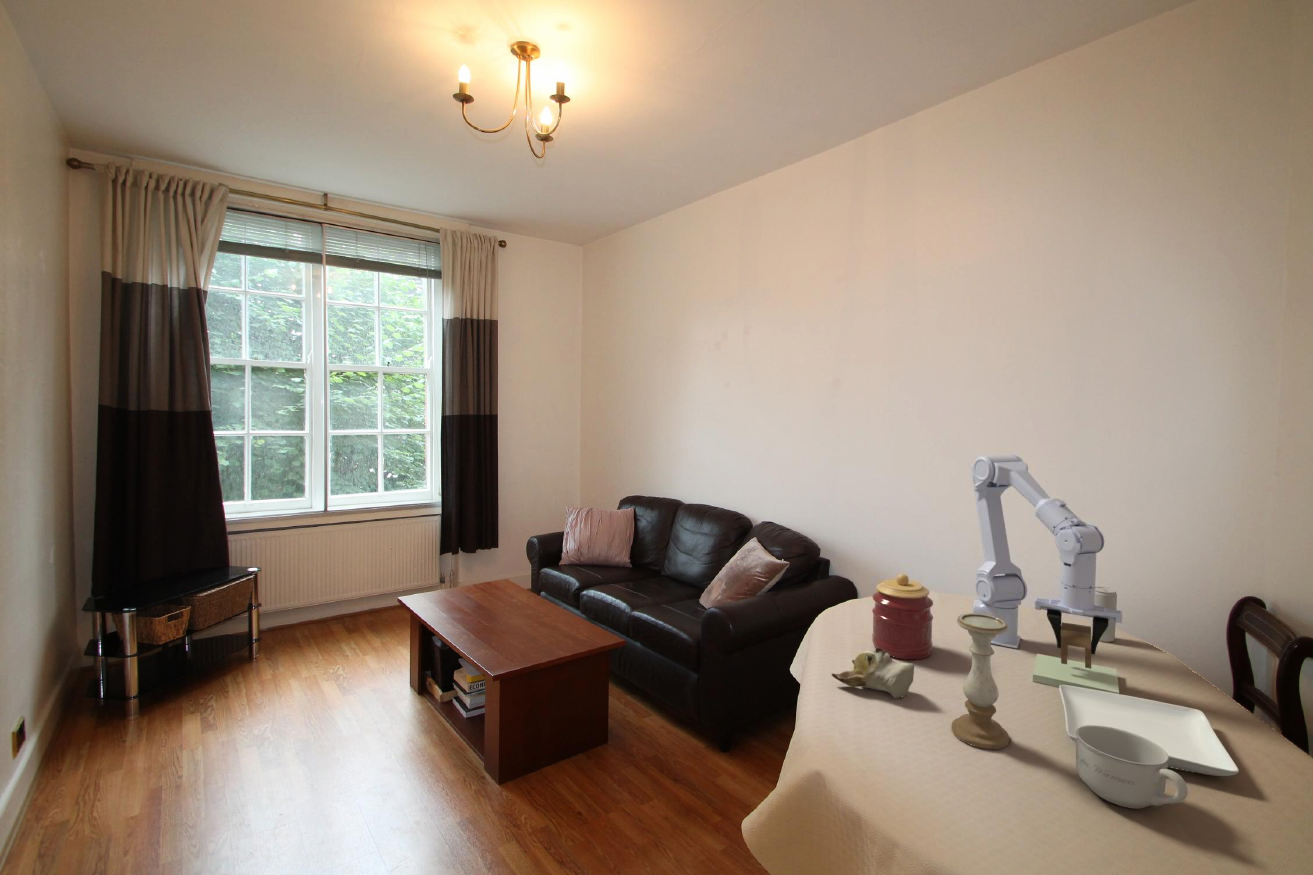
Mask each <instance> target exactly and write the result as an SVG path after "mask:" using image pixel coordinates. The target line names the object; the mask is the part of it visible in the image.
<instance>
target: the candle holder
mask: <svg viewBox="0 0 1313 875" xmlns="http://www.w3.org/2000/svg"><path fill="white" fill-rule="evenodd" d="M956 622H957V624H958V626H959V627H961V628H962V629H964V630H966V631H967V633H968V634H969V636H971V640H972V639H973V640H972V643H971V644H970V646H969V647H968V650H969V651H970V652H971V656H972V658H971V667H970V671H969V673H968V675H966V677H965V680H964V682H963V685H962V691H963V694H964V696H965V697H966V699H967V700H966V701H965V702H964V707H965V708H966V709H967V712H968V713H966V714H962V715H960V716H959V717H958V718H955V719H953V720H952V722H951V725H950V728H951V732H952V731H953V732H952V734H953V733H954V734H955V735H954V734H953V735H954V736H955V737H956V738H957V737H958V738H960V739H961V740H963V741H965V742H966V743H965V742H964V743H965V744H967V743H969V744H972V745H975V746H977V747H976V748H979V747H981V748H980V749H984V748H986V749H985V750H999V749H1003V748H1006V747H1007V746H1008V745H1009V742H1010V736H1009V733H1008V731H1007V730H1006V729H1005V728H1003V727H1002V725H1001V724H1000V722H998V721H996V720H995V719H994V718H993V716H994V714H996V713H997V708H996V706H995V705H994V704H995V703H996V702H997V701H998V699H999V697H1000V696H999V689H998V686H997V683H996V681H995V679H994V677H993V674H992V670H991V669H992V668H991V667H992V666H991V657H992V656H993V655H994V654H995V650H994V649H993V648H992V644H991V641H992V640H993V639H994V638H995V637H996V634H1002V633H1005V632H1007V630H1008V626H1007V624H1006V622H1005V621H1003V620H1001V619H999V618H997V617H994V616H990V615H985V614H977V613H973V612H971V613H968V612H967V613H962V614H960V615H959V616H958V617H957V619H956ZM958 738H957V739H958ZM960 739H959V740H960ZM961 740H960V741H961ZM963 741H962V742H963ZM969 744H968V745H969ZM972 745H971V746H972ZM975 746H974V747H975Z"/></svg>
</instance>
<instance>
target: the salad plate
mask: <svg viewBox="0 0 1313 875" xmlns="http://www.w3.org/2000/svg"><path fill="white" fill-rule="evenodd" d="M1058 690H1059V694H1060V697H1061V701H1062V706H1063V710H1064V718H1065V730H1066V733H1067V735H1068V736H1069V739H1071V740H1072V741H1073V742H1074V743H1076V742H1077V736H1076V731H1077V729H1078V728H1080V727H1083V726H1086V725H1092V726H1093V725H1096V726H1107V727H1112V728H1117V729H1121V730H1124V731H1128V732H1131V733H1133V734H1136V735H1139V736H1141V737H1144V738H1146V739H1148V740H1150V741H1152V742H1153V743H1155V744H1157V745H1158V746H1160V747H1161V748H1162V749H1163V750H1164V751H1165V752H1166V753H1167V754H1168V756H1169V762H1168V763H1167V766H1168V767H1167V768H1170V767H1173V768H1172V769H1174V768H1178V769H1177V770H1179V769H1184V770H1188V771H1193V772H1192V773H1195V772H1197V773H1196V774H1202V775H1209V776H1216V777H1229V776H1234V775H1237V774H1239V772H1240V771H1239V768H1238V766H1237V764H1236V762H1234V760H1233V759H1232V757H1231V756H1230V753H1229V752H1228V751H1227V750H1226V748H1225V746H1224V744H1223V743H1222V742H1221V740H1220V739H1219V737H1218V735H1217V734H1216V733H1215V730H1214V729H1213V727H1212V725H1211V723H1210V721H1209V720H1208V718H1207V716H1206V715H1205V714H1204V712H1203V711H1202V710H1200V709H1197V708H1191V707H1186V706H1183V705H1178V704H1174V703H1173V704H1172V703H1167V702H1162V701H1158V700H1152V699H1147V698H1142V697H1137V696H1132V695H1126V694H1121V693H1119V694H1115V693H1110V692H1104V691H1098V690H1092V689H1087V688H1081V687H1075V686H1069V685H1060V686H1059V687H1058ZM1188 771H1187V772H1188Z"/></svg>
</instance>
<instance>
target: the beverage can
mask: <svg viewBox="0 0 1313 875" xmlns="http://www.w3.org/2000/svg"><path fill="white" fill-rule="evenodd" d="M1117 599H1118V594H1117V590H1116V589H1113V588H1110V587H1105V586H1095V605H1096V606H1100V607H1105V608H1109V609H1113V610H1117V602H1118V601H1117ZM1116 624H1117V622H1115V621H1111V620H1108V627H1107V629H1106V630H1105V632H1104V633H1103V635H1102V636H1101V638H1100V640H1099V642H1103V643H1112V642H1114V641H1115V639H1116ZM1090 626H1091V637H1092V632H1093V618H1092V617H1090Z"/></svg>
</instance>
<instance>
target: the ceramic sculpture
mask: <svg viewBox="0 0 1313 875" xmlns="http://www.w3.org/2000/svg"><path fill="white" fill-rule="evenodd" d="M851 662H852V664H853V670H847V671H846V670H845V671H843V672H840V673H831V677H833V678H834V679H836V680H837V681H839V682H841V683H842V684H845V685H847V686H848V687H852V688H854V687H860V688H861V687H863V686H864V687H863V688H865V687H867V688H866V689H868V688H871V689H870V690H873V689H875V690H874V691H884V692H887V693H888V694H889V693H890V695H891V696H892V697H893V698H894V697H895V698H894V699H900V698H899V697H902V696H904V697H906V696H907V694H908V693H909V690H910V688H911V685H912V684H913V682H914V675H915V664H914V663H910V662H909V663H908V662H898V661H894V660H893V659H892V657H890V655H889V654H888V653H887V652H886V651H884V650H882V649H880V648H876V649H875V650H874V651H873V650H864V651H863V652H861V653H859V654H858V655H857V656H856V657H855V659H852V660H851ZM905 695H906V696H905ZM902 698H903V697H902Z"/></svg>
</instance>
